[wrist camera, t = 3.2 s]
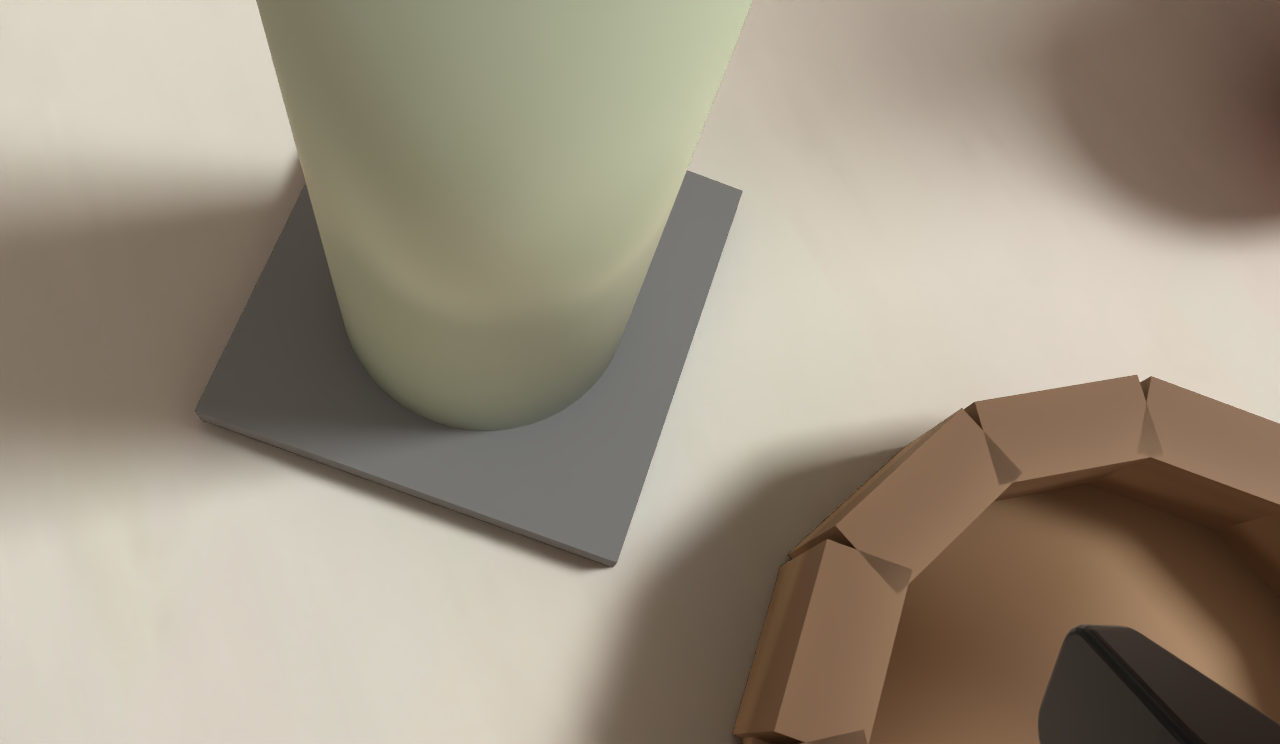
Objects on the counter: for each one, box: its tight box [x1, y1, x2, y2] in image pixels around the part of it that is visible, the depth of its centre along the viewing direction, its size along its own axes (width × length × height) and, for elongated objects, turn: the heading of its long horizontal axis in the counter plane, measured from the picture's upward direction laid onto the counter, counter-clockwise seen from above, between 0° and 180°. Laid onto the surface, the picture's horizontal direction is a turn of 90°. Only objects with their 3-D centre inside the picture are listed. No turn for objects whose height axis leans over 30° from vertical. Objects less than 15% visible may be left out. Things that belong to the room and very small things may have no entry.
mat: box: [195, 171, 742, 567], centre depth 23 cm, size 8×8×1 cm
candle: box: [256, 0, 753, 431], centre depth 16 cm, size 5×5×14 cm
